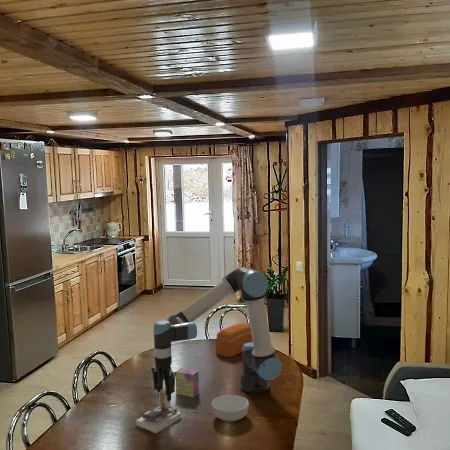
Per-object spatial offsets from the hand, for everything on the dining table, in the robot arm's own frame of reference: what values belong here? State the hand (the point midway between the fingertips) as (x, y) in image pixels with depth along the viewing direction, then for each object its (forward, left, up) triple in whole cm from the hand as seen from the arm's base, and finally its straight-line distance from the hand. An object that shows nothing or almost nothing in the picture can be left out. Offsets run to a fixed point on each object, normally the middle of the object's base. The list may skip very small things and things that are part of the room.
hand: (164, 406), depth 218 cm
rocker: (0, +8, -1) cm, 8 cm away
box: (+8, -25, -6) cm, 27 cm away
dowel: (0, 0, -3) cm, 3 cm away
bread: (+23, -90, -6) cm, 93 cm away
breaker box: (0, +4, -6) cm, 7 cm away
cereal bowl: (-24, -17, -6) cm, 30 cm away
